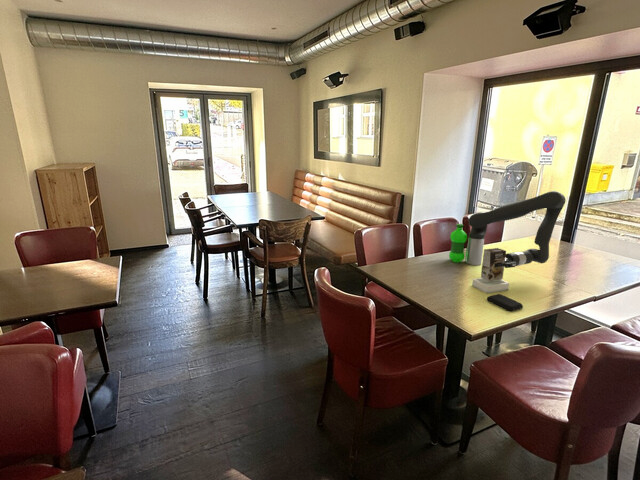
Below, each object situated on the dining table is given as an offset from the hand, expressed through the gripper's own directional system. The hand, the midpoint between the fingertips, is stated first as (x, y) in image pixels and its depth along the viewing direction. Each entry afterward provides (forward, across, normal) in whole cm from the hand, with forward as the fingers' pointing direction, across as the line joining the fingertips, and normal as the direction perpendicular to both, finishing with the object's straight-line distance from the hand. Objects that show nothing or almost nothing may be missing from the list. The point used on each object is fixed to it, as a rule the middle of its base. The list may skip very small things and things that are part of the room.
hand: (490, 263), depth 185 cm
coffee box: (-2, 0, +9) cm, 9 cm away
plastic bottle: (-15, -43, +15) cm, 48 cm away
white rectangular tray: (-2, 0, +14) cm, 15 cm away
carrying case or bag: (+6, +18, +15) cm, 24 cm away
